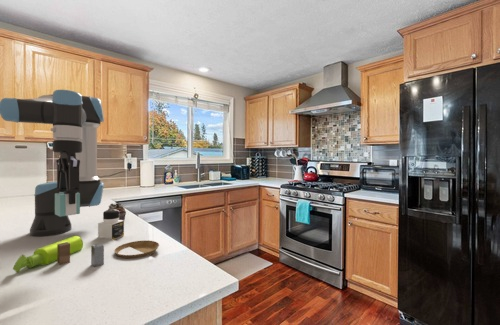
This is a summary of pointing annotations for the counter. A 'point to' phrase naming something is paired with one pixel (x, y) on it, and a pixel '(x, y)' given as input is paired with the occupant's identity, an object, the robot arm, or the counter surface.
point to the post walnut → (63, 253)
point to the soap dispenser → (47, 254)
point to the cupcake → (119, 208)
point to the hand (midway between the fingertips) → (67, 212)
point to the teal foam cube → (61, 204)
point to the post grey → (97, 255)
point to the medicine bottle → (111, 225)
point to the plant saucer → (139, 248)
